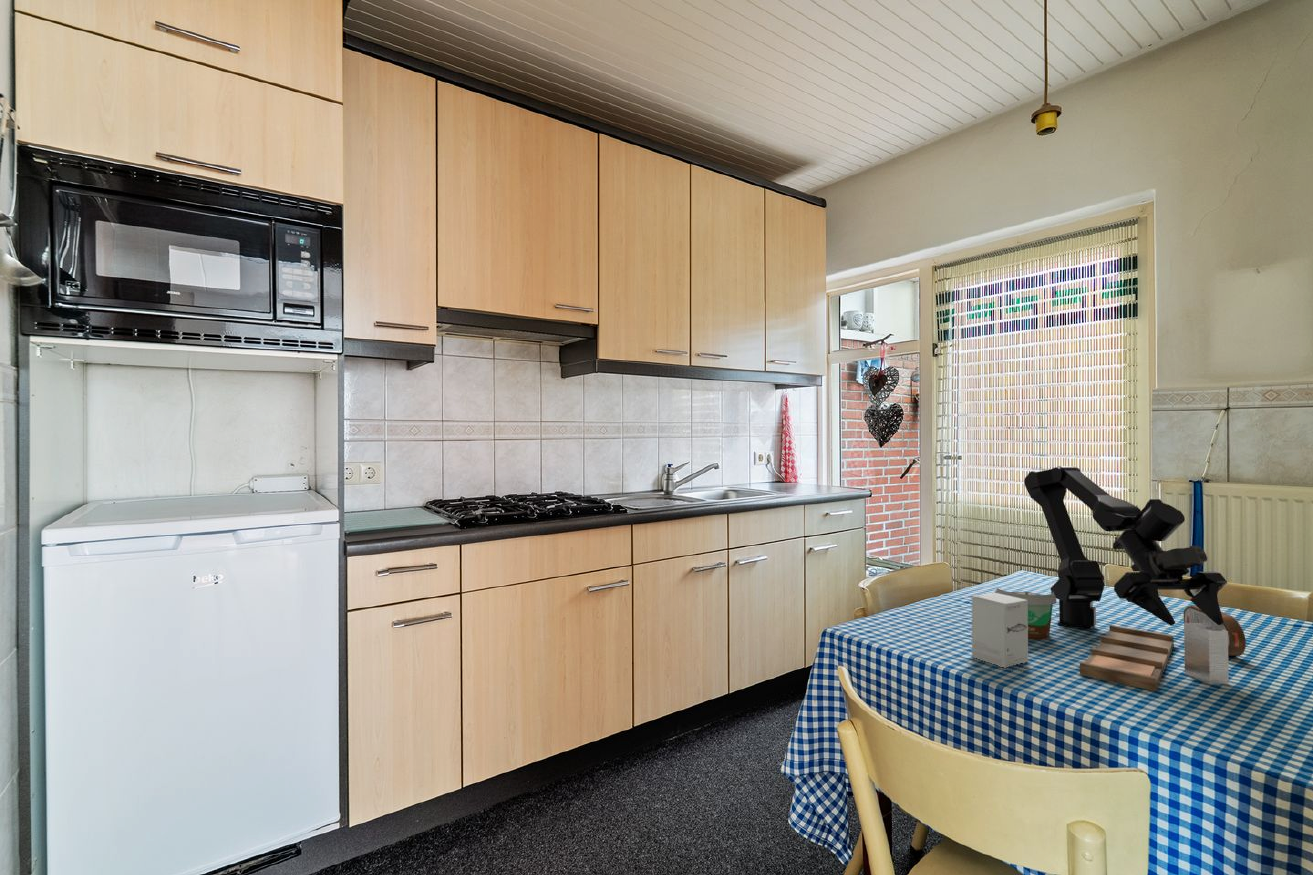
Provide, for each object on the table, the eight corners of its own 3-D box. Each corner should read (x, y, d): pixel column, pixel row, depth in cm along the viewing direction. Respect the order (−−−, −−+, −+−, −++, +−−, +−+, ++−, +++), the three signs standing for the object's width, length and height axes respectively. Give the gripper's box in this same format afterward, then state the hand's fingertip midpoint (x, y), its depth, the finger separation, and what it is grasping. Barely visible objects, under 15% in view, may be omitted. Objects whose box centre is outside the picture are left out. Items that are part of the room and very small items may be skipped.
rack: (1079, 674, 113) (1079, 662, 113) (1110, 634, 137) (1110, 624, 137) (1155, 691, 105) (1155, 678, 105) (1173, 645, 130) (1173, 635, 130)
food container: (998, 637, 135) (998, 592, 135) (994, 629, 141) (994, 587, 141) (1063, 644, 131) (1062, 598, 131) (1056, 635, 136) (1055, 591, 136)
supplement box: (1005, 669, 116) (1004, 603, 116) (970, 657, 123) (970, 595, 123) (1029, 663, 119) (1029, 599, 119) (994, 652, 126) (994, 591, 126)
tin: (1248, 662, 120) (1247, 619, 120) (1229, 661, 120) (1228, 618, 121) (1196, 638, 134) (1196, 600, 135) (1180, 637, 135) (1179, 600, 135)
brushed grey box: (1184, 673, 114) (1184, 623, 114) (1202, 673, 114) (1202, 623, 114) (1209, 684, 109) (1208, 631, 109) (1228, 683, 109) (1227, 631, 109)
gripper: (1123, 531, 118) (1174, 601, 107) (1216, 530, 119) (1277, 600, 108) (1094, 563, 126) (1139, 632, 115) (1182, 563, 126) (1234, 632, 115)
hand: (1197, 624), depth 113 cm, fingers open, 9 cm apart
